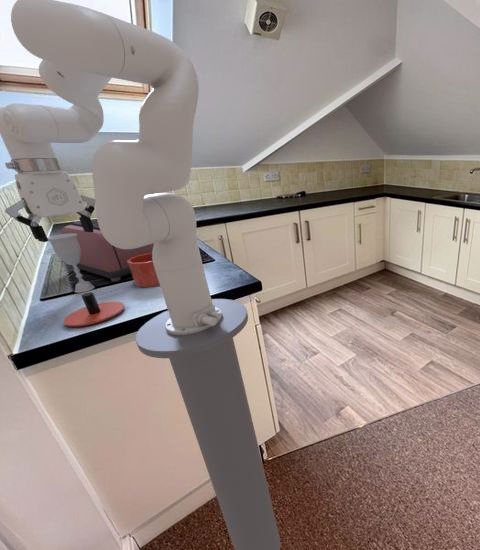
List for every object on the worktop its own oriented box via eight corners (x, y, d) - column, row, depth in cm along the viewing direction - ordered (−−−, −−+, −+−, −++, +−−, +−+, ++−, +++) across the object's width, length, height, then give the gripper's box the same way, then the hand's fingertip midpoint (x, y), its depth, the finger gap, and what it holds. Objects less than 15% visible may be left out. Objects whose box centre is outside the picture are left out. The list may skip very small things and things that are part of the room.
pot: (182, 276, 106) (175, 254, 103) (148, 289, 97) (140, 265, 93) (162, 272, 111) (155, 250, 108) (128, 284, 101) (119, 260, 98)
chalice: (103, 286, 100) (82, 234, 93) (81, 294, 94) (57, 239, 87) (88, 284, 102) (66, 232, 95) (65, 292, 96) (40, 238, 89)
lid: (134, 309, 84) (126, 288, 82) (79, 332, 74) (69, 309, 71) (110, 301, 89) (102, 281, 87) (55, 322, 79) (44, 300, 76)
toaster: (206, 252, 132) (196, 212, 125) (112, 283, 102) (93, 232, 95) (165, 245, 145) (154, 208, 138) (71, 270, 115) (51, 225, 109)
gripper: (-7, 169, 63) (30, 247, 69) (89, 165, 77) (113, 229, 84) (-23, 169, 65) (14, 244, 72) (73, 165, 80) (97, 227, 87)
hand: (67, 236), depth 78 cm, fingers open, 9 cm apart
